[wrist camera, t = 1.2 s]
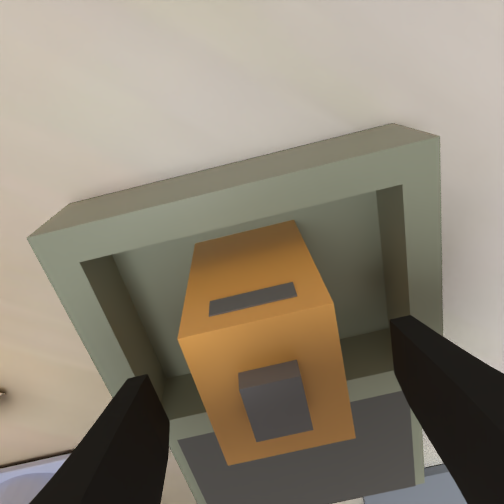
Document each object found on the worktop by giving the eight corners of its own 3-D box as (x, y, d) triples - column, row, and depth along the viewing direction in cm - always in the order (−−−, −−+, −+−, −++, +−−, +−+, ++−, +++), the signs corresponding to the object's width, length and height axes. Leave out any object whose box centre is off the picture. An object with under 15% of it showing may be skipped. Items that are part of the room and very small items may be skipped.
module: (227, 342, 17) (228, 486, 11) (194, 242, 15) (173, 353, 9) (314, 322, 17) (362, 457, 11) (293, 218, 15) (339, 314, 9)
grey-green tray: (209, 507, 24) (207, 574, 20) (68, 203, 15) (26, 237, 12) (415, 463, 23) (445, 525, 20) (392, 123, 14) (440, 136, 11)
